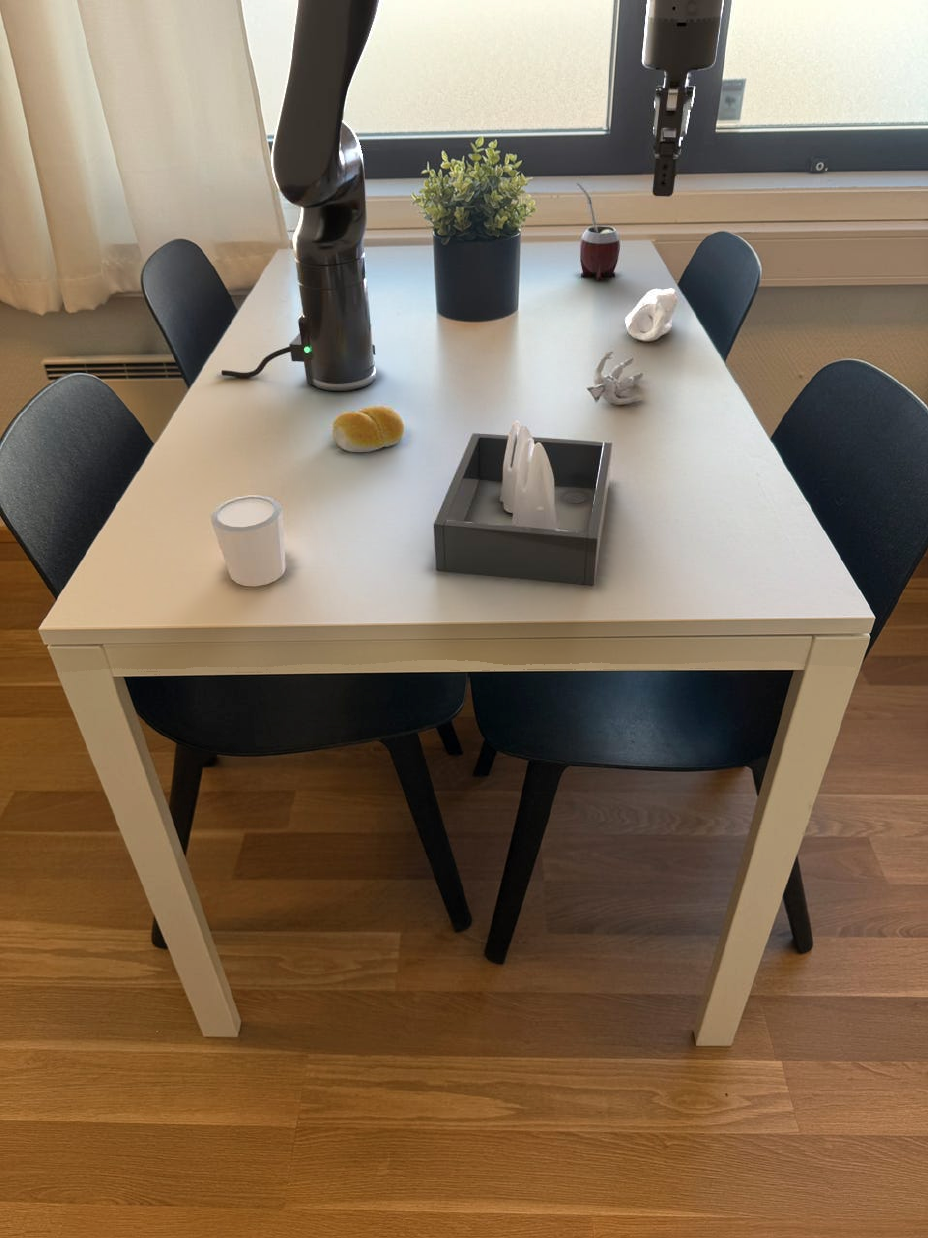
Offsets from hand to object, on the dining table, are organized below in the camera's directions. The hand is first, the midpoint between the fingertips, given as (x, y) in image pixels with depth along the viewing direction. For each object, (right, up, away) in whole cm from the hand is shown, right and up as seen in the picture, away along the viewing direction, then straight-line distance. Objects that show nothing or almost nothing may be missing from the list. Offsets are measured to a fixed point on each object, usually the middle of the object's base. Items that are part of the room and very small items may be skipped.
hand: (664, 186), depth 100 cm
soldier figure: (-2, -18, +23) cm, 29 cm away
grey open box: (-16, -39, -3) cm, 42 cm away
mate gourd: (+2, +14, +64) cm, 65 cm away
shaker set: (-16, -39, -3) cm, 42 cm away
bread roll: (-35, -26, +14) cm, 45 cm away
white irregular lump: (+7, -3, +41) cm, 42 cm away
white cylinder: (-44, -44, -9) cm, 63 cm away
